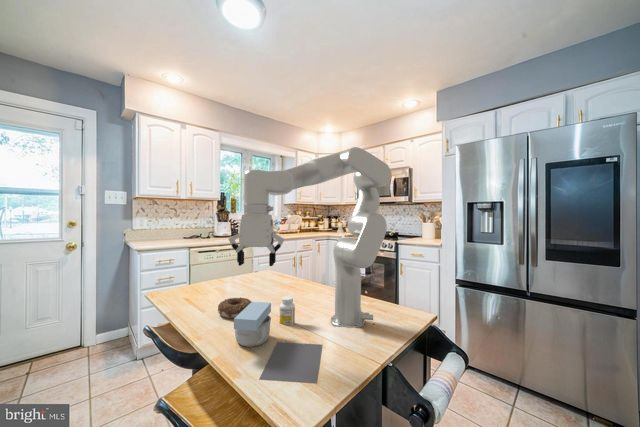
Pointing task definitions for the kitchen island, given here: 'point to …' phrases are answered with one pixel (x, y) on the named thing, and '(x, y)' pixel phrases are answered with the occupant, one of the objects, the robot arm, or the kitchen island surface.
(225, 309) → the donut
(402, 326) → the kitchen island surface
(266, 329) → the teacup
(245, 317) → the light blue block
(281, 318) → the supplement bottle
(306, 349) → the mat
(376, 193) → the robot arm
